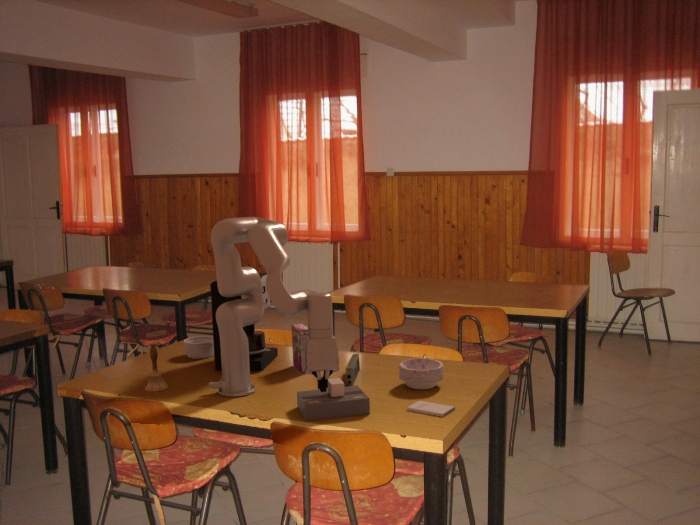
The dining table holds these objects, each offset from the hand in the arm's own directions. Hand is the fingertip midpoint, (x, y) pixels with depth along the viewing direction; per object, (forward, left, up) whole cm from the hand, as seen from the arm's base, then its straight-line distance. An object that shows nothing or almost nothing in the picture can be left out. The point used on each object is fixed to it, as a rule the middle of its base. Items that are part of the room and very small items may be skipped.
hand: (322, 390), depth 214 cm
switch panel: (+3, 0, -7) cm, 7 cm away
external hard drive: (+32, -9, -8) cm, 34 cm away
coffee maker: (-17, +65, -7) cm, 68 cm away
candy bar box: (+3, +51, -7) cm, 52 cm away
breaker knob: (+4, 0, -1) cm, 4 cm away
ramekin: (-34, +86, -7) cm, 93 cm away
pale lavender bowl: (+38, +15, -7) cm, 41 cm away
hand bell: (-51, +44, -7) cm, 68 cm away
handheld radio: (+17, +31, -7) cm, 36 cm away
